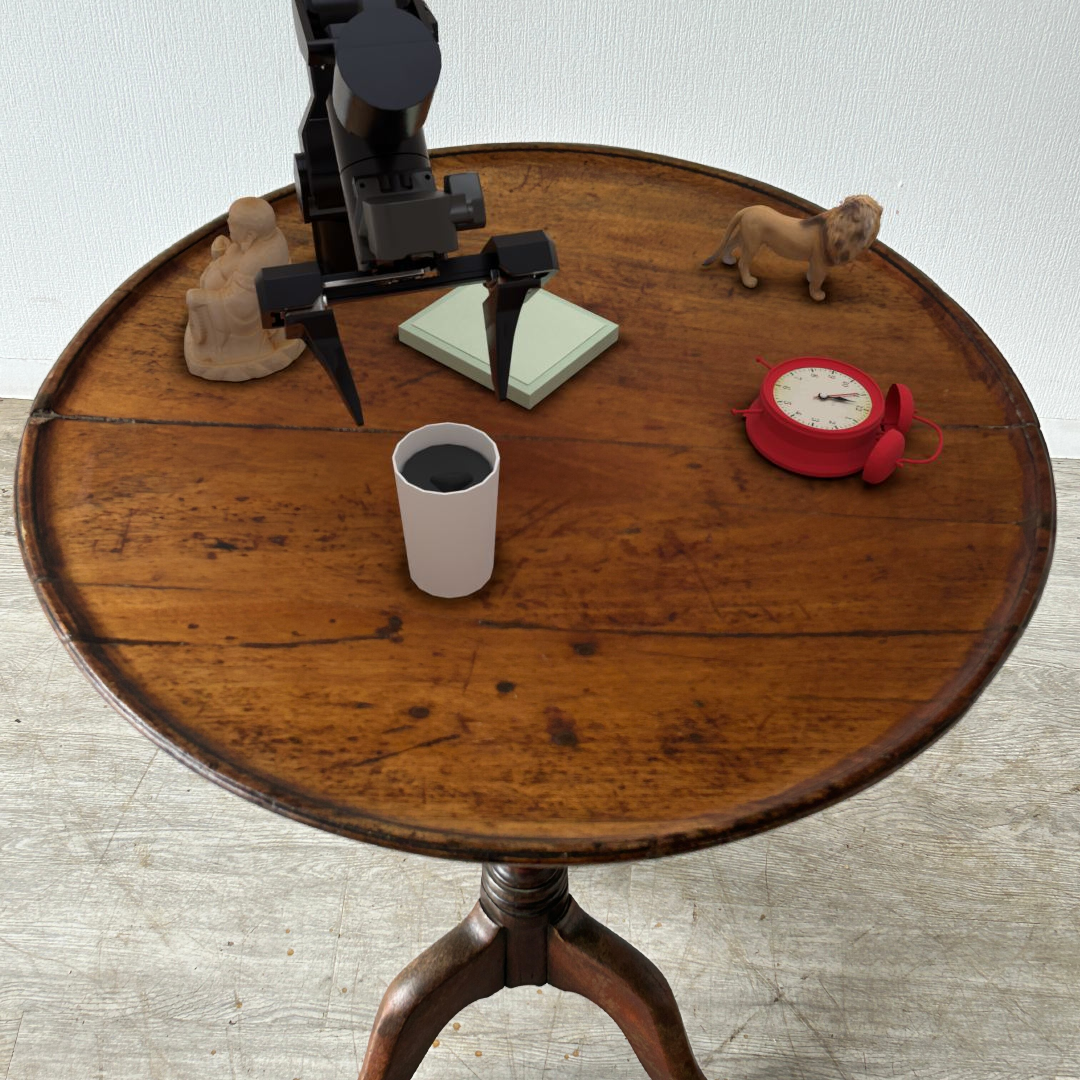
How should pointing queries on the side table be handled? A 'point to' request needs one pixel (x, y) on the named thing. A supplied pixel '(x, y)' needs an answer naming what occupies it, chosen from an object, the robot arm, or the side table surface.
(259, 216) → the statue
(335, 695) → the side table surface
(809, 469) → the alarm clock
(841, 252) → the lion figurine
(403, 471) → the white cup
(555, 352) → the board
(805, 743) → the side table surface
